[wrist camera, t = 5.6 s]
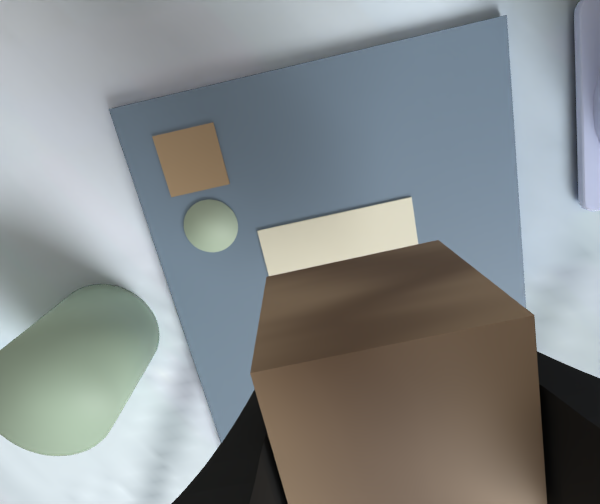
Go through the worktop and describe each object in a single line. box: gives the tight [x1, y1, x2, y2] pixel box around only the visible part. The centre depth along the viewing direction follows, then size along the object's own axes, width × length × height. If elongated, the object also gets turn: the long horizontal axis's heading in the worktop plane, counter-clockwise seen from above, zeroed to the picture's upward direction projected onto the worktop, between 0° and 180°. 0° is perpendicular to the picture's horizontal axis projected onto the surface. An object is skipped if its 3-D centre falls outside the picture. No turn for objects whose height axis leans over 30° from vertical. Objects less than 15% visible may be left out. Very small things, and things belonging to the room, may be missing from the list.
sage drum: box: [0, 284, 159, 456], centre depth 17 cm, size 5×5×5 cm
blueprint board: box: [109, 15, 526, 443], centre depth 19 cm, size 15×18×1 cm
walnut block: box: [250, 240, 547, 504], centre depth 11 cm, size 5×5×5 cm
